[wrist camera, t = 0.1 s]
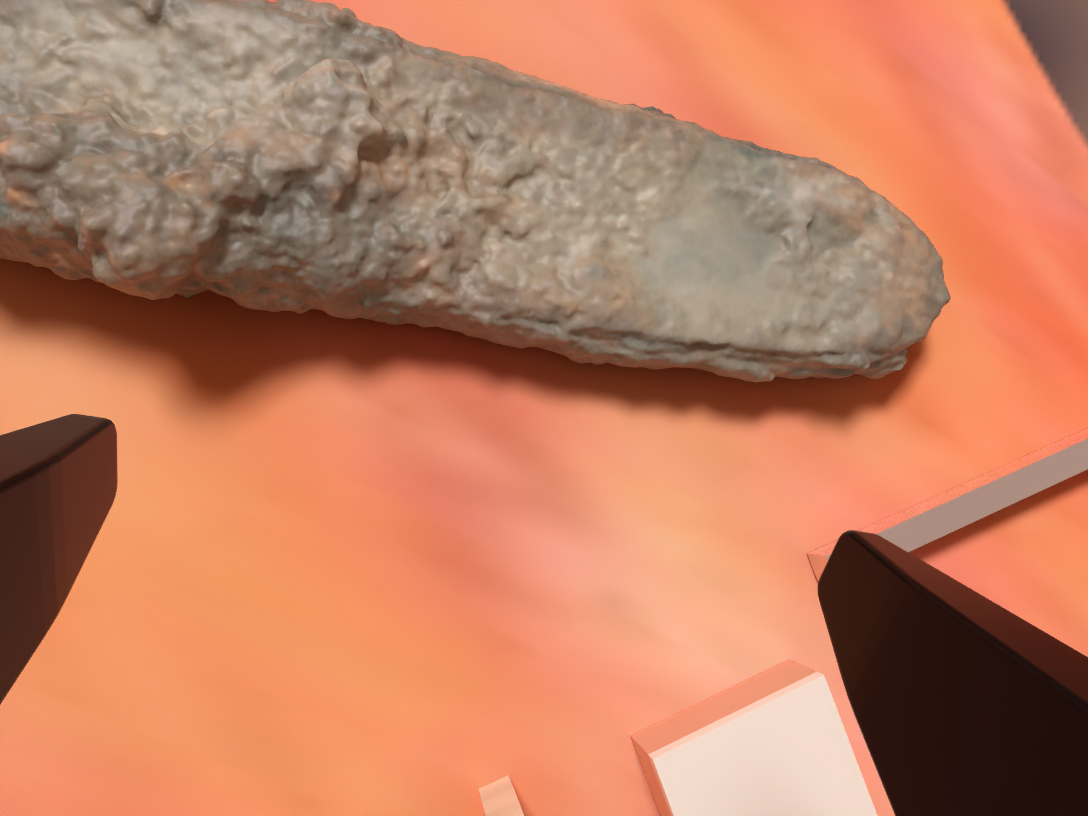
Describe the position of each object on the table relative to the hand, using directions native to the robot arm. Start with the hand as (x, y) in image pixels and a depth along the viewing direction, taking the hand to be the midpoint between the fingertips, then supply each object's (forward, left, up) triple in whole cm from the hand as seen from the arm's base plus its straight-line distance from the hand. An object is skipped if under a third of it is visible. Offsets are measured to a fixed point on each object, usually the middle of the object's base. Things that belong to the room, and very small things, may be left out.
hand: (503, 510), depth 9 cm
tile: (-12, -6, -15) cm, 21 cm away
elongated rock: (+9, -3, -15) cm, 18 cm away
